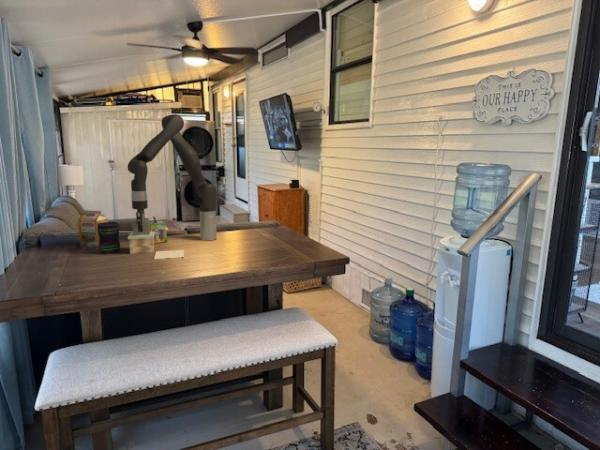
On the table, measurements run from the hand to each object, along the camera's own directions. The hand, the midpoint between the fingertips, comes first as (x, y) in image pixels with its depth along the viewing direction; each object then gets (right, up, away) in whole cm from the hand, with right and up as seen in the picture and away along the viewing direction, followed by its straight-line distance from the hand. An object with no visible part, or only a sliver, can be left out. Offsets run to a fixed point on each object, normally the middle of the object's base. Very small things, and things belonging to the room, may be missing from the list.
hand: (141, 230), depth 209 cm
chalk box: (0, -7, +23) cm, 24 cm away
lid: (0, -3, +1) cm, 3 cm away
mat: (+16, -13, -5) cm, 21 cm away
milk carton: (-32, -8, +15) cm, 36 cm away
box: (0, -11, +2) cm, 11 cm away
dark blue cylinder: (-16, -11, -1) cm, 20 cm away
